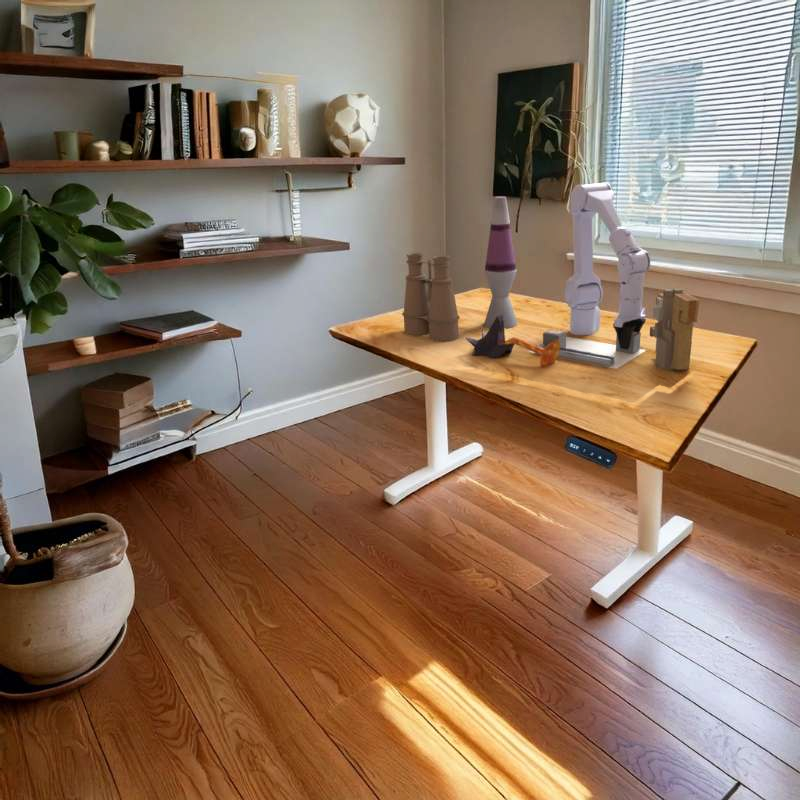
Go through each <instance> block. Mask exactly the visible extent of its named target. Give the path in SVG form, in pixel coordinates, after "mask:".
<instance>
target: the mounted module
mask: <svg viewBox="0 0 800 800" xmlns="http://www.w3.org/2000/svg"><path fill="white" fill-rule="evenodd" d="M566 337H567V331H562V330H561V331H560V330H554V329H549V330H547V331H544V332H543V333H542V344H547V345H548V344H549V343H551V342H553V341H555V340H558V339H559V343H560V347H563V348H566Z"/></svg>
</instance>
